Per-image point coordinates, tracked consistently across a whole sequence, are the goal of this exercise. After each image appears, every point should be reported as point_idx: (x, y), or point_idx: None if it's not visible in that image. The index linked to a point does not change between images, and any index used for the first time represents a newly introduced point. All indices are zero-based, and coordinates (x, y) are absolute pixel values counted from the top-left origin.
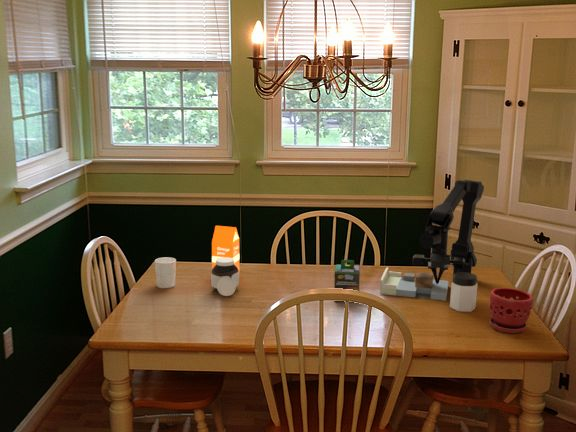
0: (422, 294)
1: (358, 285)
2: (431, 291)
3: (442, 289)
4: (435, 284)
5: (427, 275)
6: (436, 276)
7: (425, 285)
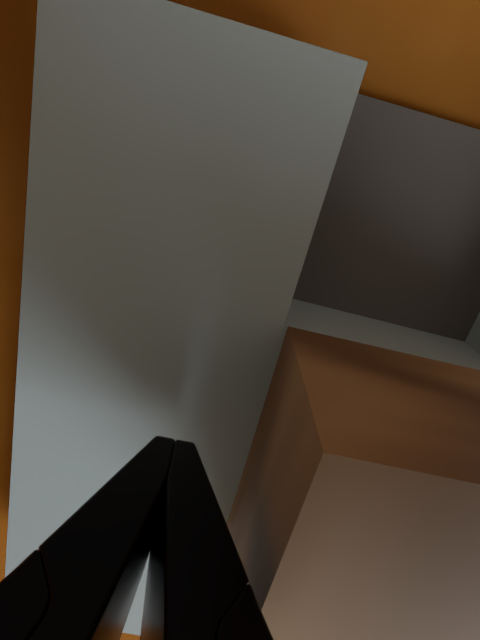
0: (402, 287)
1: None
2: (329, 166)
3: (103, 293)
4: None
5: (389, 628)
6: (177, 559)
7: (407, 369)
